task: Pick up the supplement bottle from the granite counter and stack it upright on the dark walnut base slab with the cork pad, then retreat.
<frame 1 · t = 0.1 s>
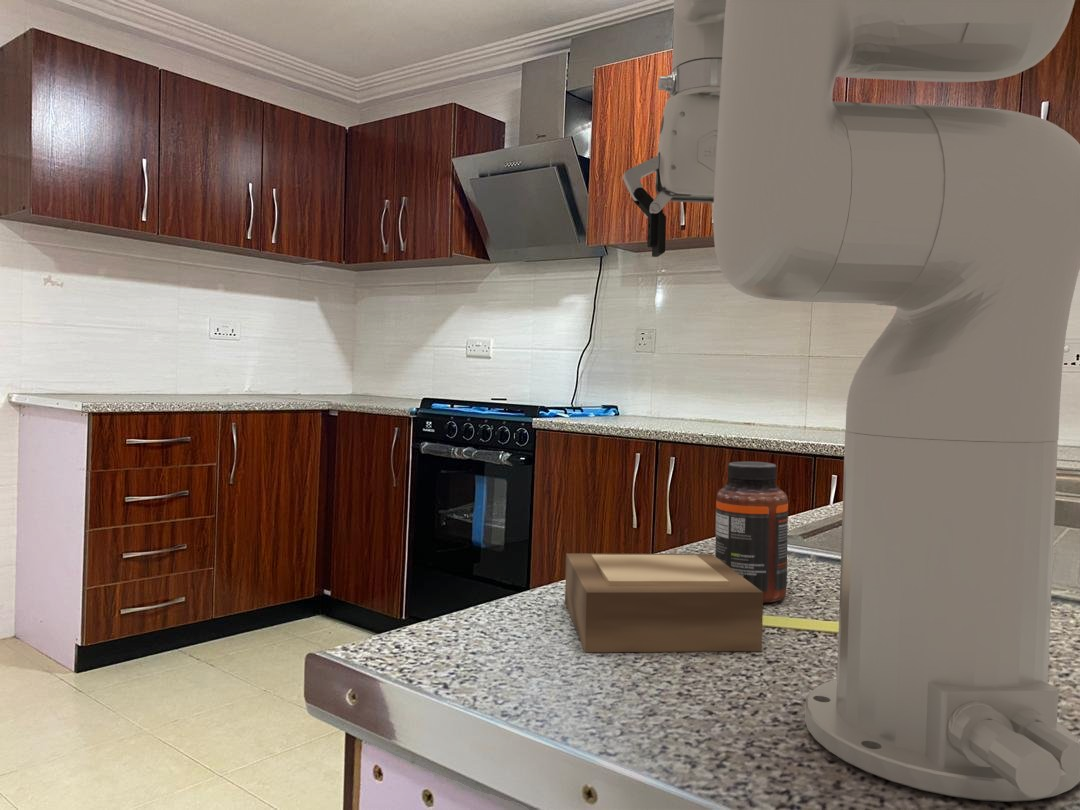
hand: (703, 256, 85), 31 cm above the counter, fingers open, 9 cm apart
base slab: (654, 624, 61), on the counter
supplement bottle: (749, 598, 70), on the counter
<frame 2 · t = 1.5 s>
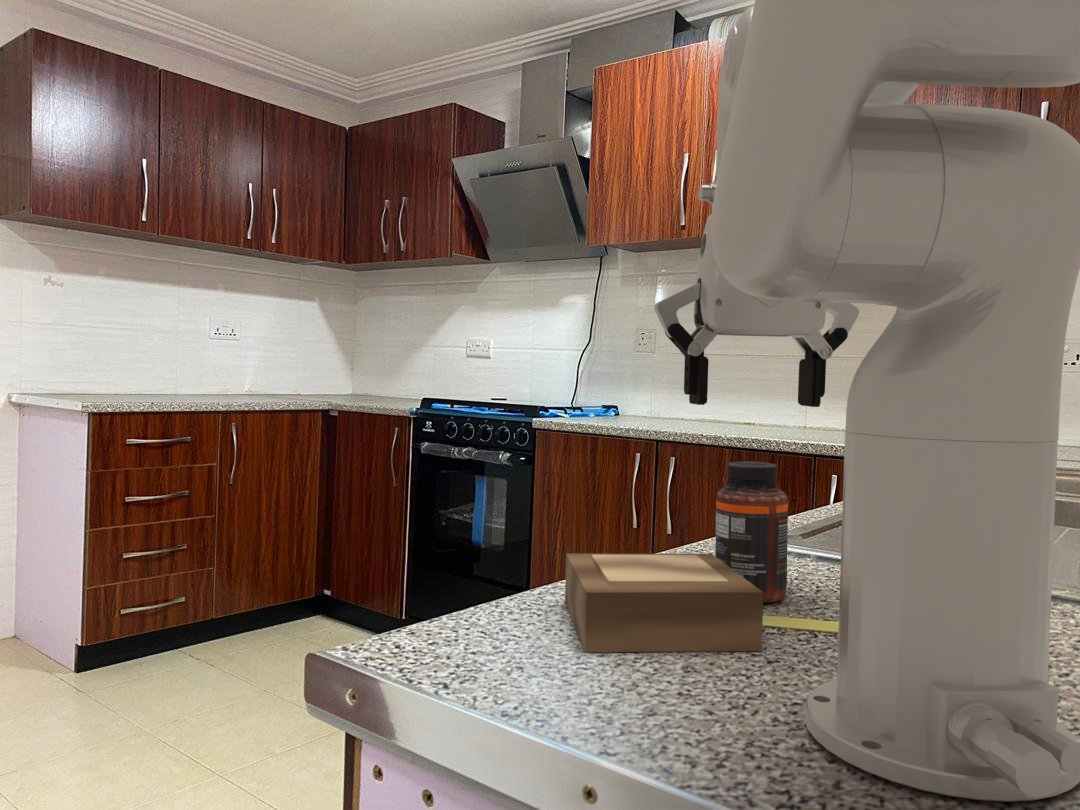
hand: (753, 404, 69), 16 cm above the counter, fingers open, 9 cm apart
nothing on the counter moved.
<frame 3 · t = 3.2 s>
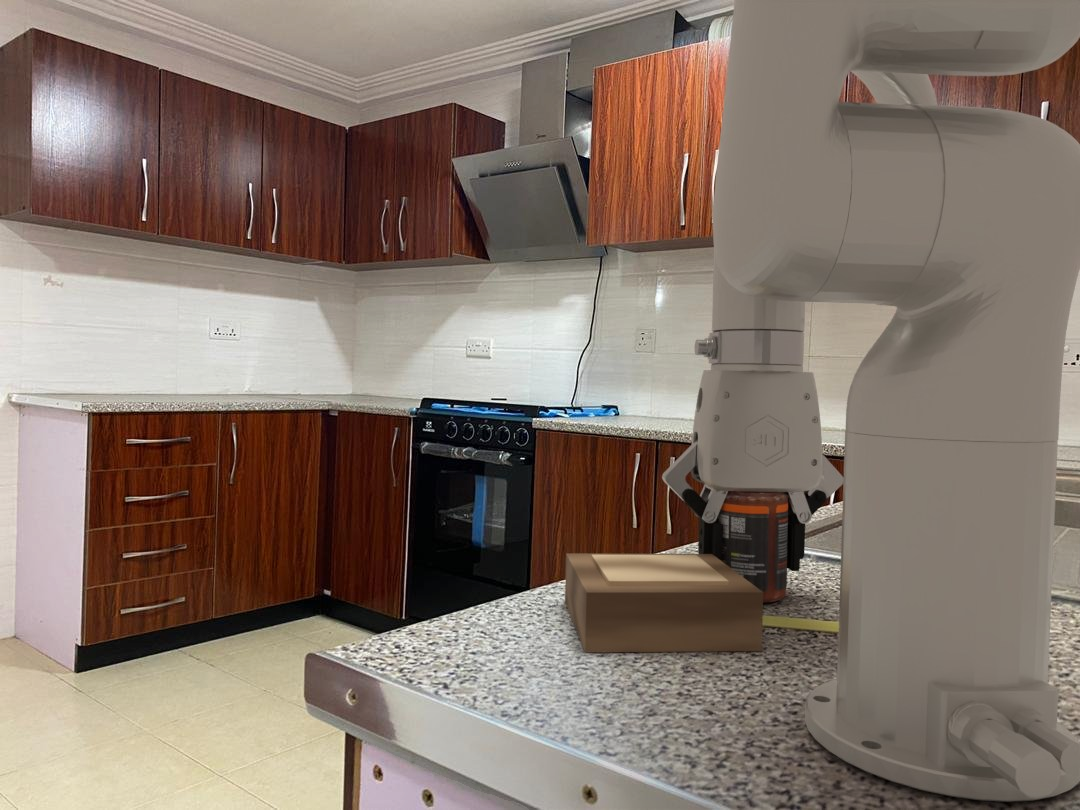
hand: (750, 565, 69), 3 cm above the counter, fingers closed on supplement bottle, 6 cm apart
supplement bottle: (749, 598, 70), on the counter, touching gripper
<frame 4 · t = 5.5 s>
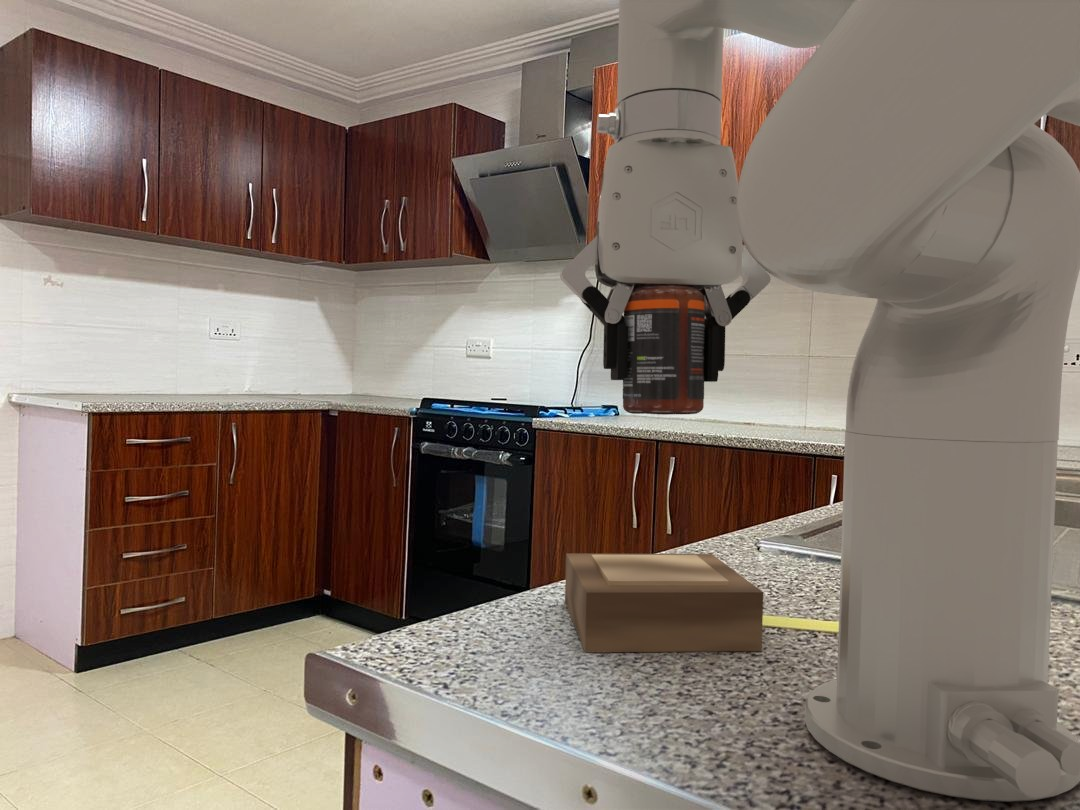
hand: (663, 378, 60), 18 cm above the counter, fingers closed on supplement bottle, 6 cm apart
supplement bottle: (662, 416, 60), point 15 cm above the counter, touching gripper
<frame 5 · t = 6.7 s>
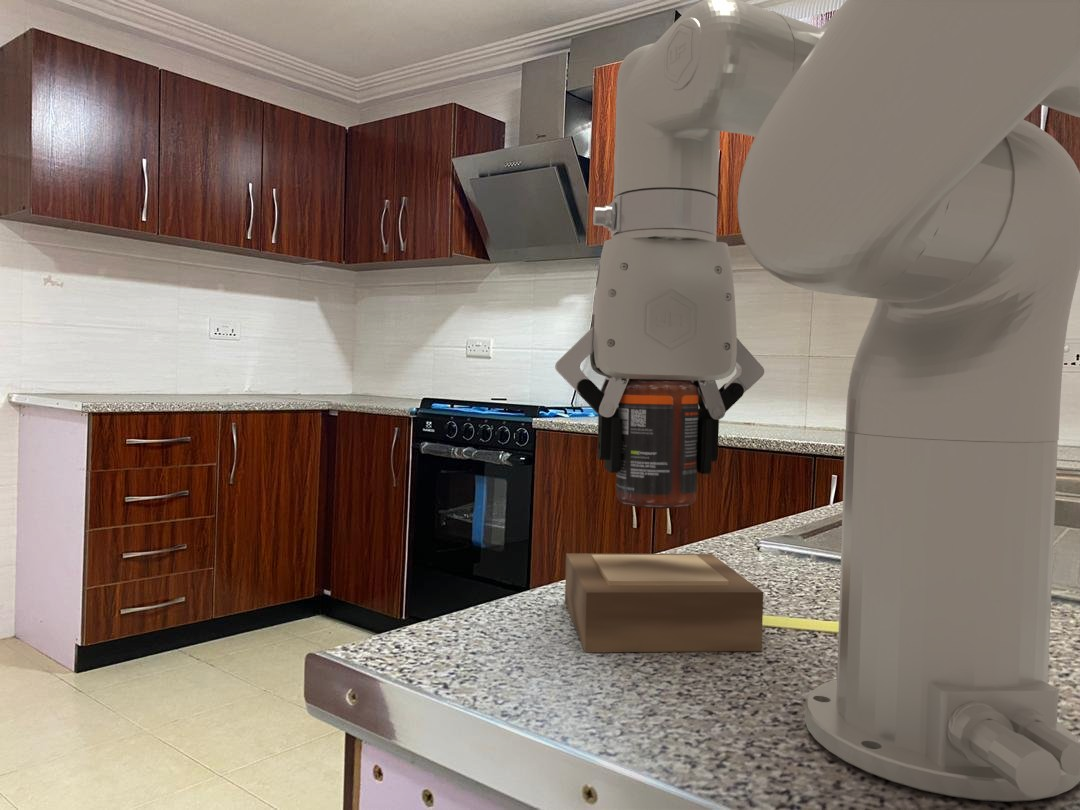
hand: (656, 468, 61), 12 cm above the counter, fingers closed on supplement bottle, 6 cm apart
supplement bottle: (655, 506, 61), point 9 cm above the counter, touching gripper
when the fingers open (8 cm above the counter, at t = 7.8 s): supplement bottle stays where it is, resting on base slab.
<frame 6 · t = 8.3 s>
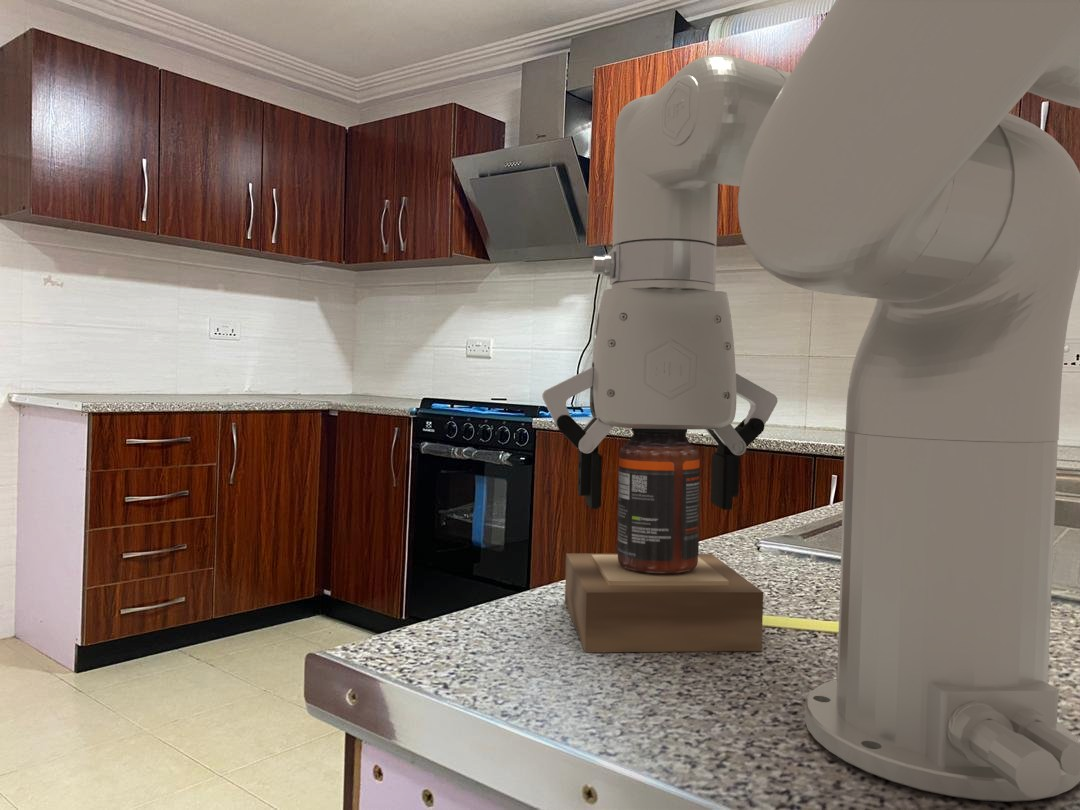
hand: (657, 506, 60), 9 cm above the counter, fingers open, 9 cm apart
supplement bottle: (656, 570, 61), point 4 cm above the counter, touching base slab
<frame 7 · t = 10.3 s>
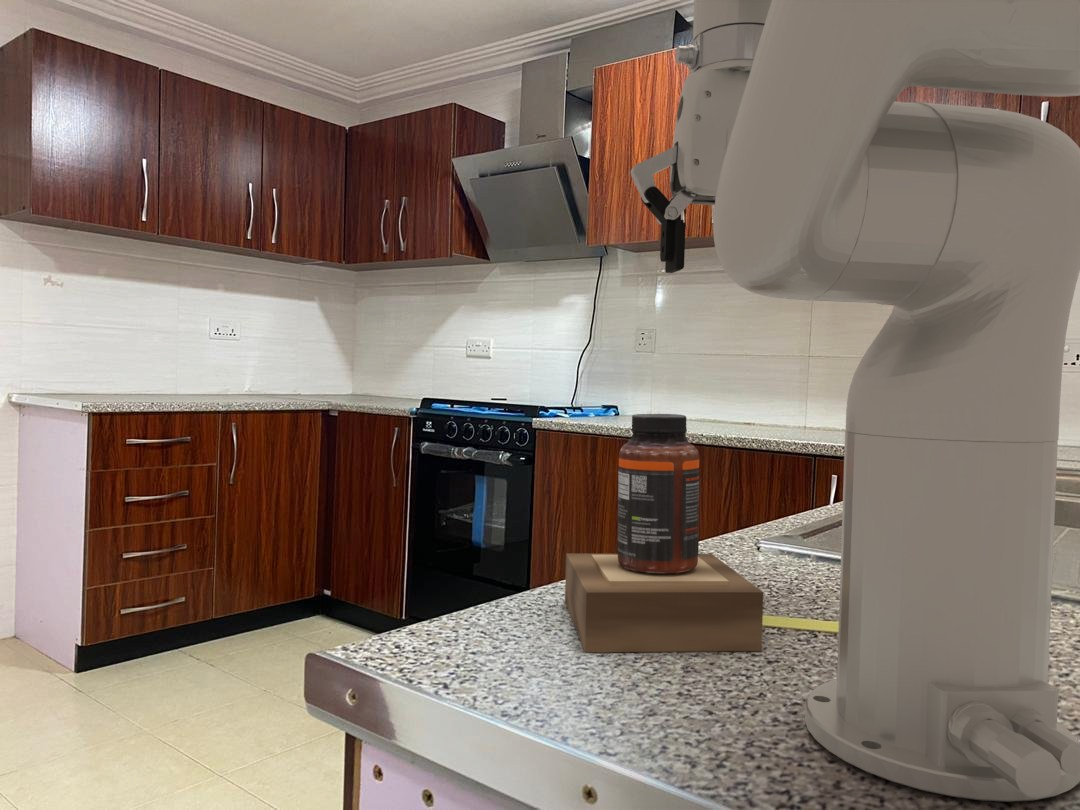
hand: (730, 273, 69), 27 cm above the counter, fingers open, 9 cm apart
nothing on the counter moved.
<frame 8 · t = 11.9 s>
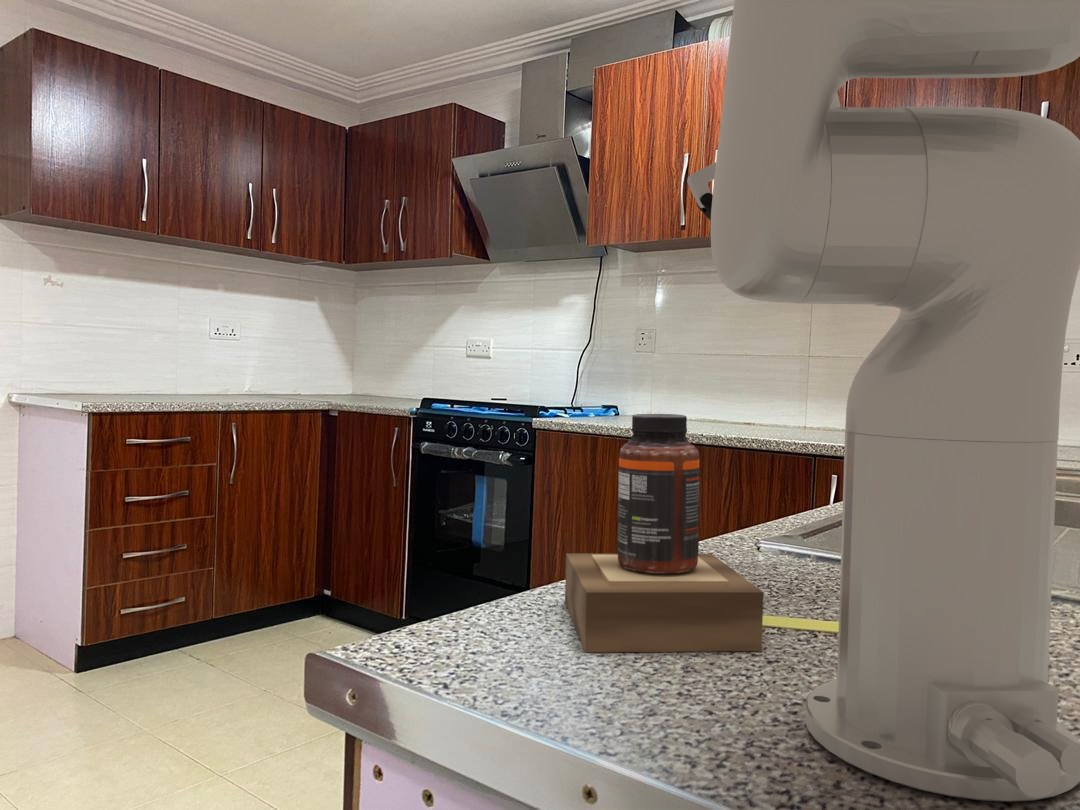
hand: (779, 271, 75), 28 cm above the counter, fingers open, 9 cm apart
nothing on the counter moved.
at the end: supplement bottle inside the target area on the base slab (0.1 cm from its centre), point 4.1 cm above the base slab's base; supplement bottle tilted 0°; the gripper is holding nothing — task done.
